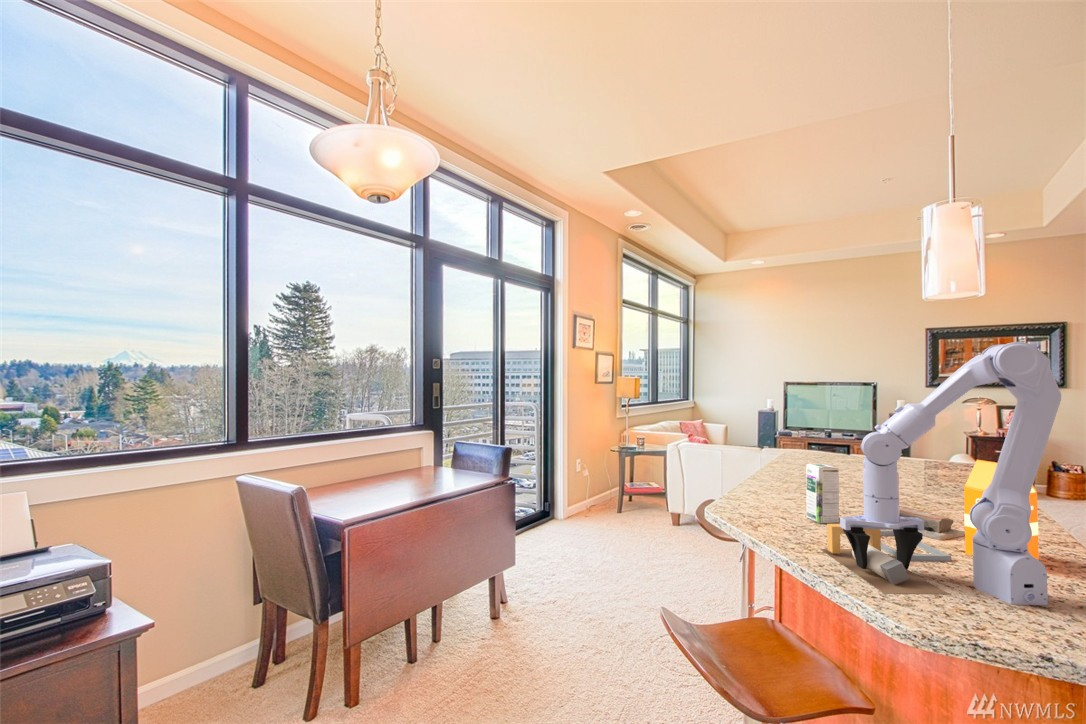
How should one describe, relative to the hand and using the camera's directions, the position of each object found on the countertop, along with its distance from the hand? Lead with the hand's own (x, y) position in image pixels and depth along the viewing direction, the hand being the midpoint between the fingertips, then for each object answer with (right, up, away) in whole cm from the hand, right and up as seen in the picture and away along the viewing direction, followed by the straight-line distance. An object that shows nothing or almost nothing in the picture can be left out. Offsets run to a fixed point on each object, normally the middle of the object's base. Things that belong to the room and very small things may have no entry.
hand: (882, 567), depth 97 cm
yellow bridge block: (0, -1, +9) cm, 10 cm away
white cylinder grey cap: (0, -1, 0) cm, 1 cm away
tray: (+13, -2, +14) cm, 19 cm away
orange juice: (+31, -2, +9) cm, 32 cm away
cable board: (0, -2, +1) cm, 2 cm away
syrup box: (+9, -3, +37) cm, 38 cm away
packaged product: (+28, -3, +31) cm, 42 cm away
